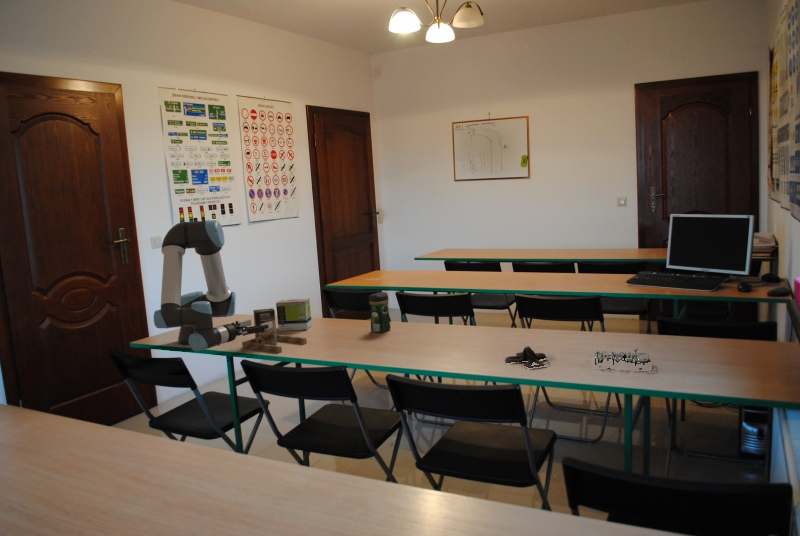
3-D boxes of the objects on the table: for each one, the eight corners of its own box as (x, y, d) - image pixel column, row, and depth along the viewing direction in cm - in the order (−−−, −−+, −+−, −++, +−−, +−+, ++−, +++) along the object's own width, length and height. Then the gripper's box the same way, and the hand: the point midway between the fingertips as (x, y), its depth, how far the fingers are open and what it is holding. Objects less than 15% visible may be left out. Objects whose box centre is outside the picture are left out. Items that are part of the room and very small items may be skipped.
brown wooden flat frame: (242, 347, 264) (242, 342, 263) (270, 338, 278) (269, 333, 277) (279, 353, 250) (278, 347, 250) (306, 343, 264) (306, 338, 264)
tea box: (312, 325, 300) (310, 297, 299) (307, 330, 291) (304, 301, 289) (283, 326, 302) (281, 298, 300) (278, 331, 292) (275, 302, 290)
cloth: (540, 373, 205) (540, 356, 204) (494, 366, 217) (494, 350, 216) (567, 357, 222) (566, 342, 221) (522, 351, 234) (522, 336, 233)
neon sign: (651, 339, 224) (653, 361, 198) (651, 350, 225) (653, 373, 198) (593, 337, 232) (587, 358, 206) (593, 348, 233) (588, 370, 206)
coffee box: (257, 347, 262) (254, 312, 260) (255, 344, 268) (252, 310, 266) (277, 344, 265) (274, 310, 263) (275, 341, 271) (272, 307, 269)
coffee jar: (380, 327, 287) (378, 290, 285) (393, 329, 282) (390, 291, 280) (367, 332, 279) (365, 294, 277) (380, 333, 275) (378, 295, 272)
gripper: (205, 340, 253) (243, 329, 271) (244, 345, 239) (281, 333, 257) (203, 323, 252) (241, 313, 270) (243, 327, 239) (280, 317, 256)
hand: (261, 323), depth 263 cm, fingers open, 13 cm apart
